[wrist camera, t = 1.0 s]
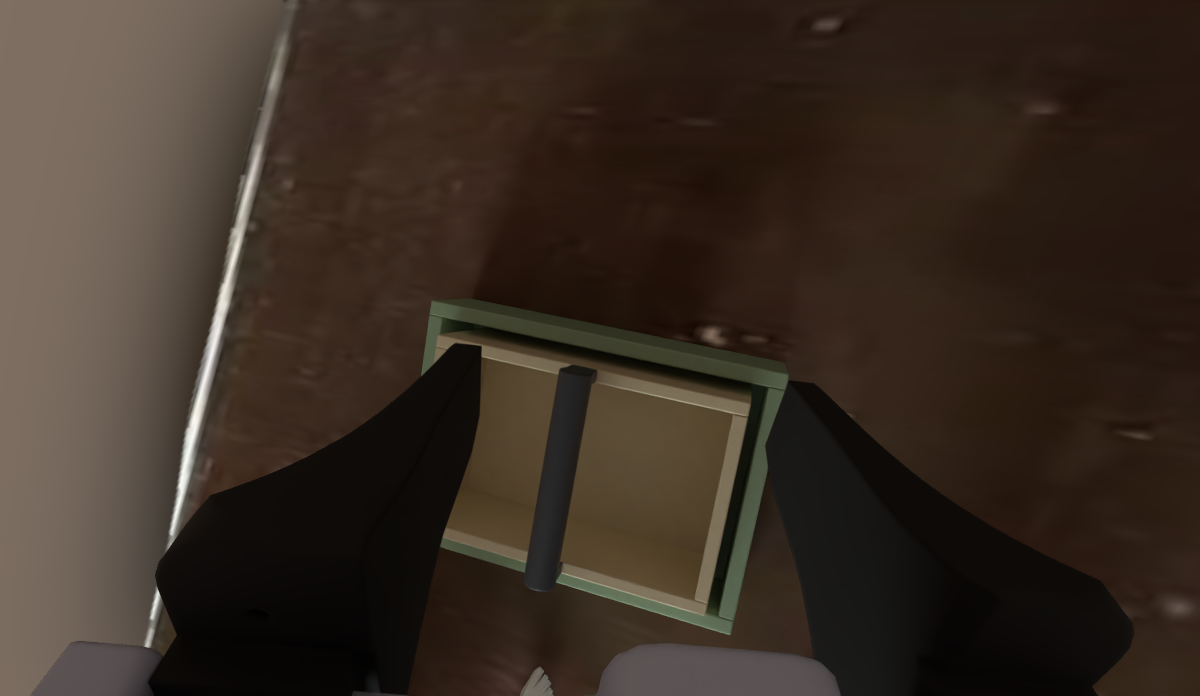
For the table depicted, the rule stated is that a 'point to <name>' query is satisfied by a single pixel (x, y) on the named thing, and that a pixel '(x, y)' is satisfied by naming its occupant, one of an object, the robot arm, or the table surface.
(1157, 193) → the table surface
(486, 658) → the table surface
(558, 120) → the table surface
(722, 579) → the sage bin
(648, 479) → the cream bin
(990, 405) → the table surface
